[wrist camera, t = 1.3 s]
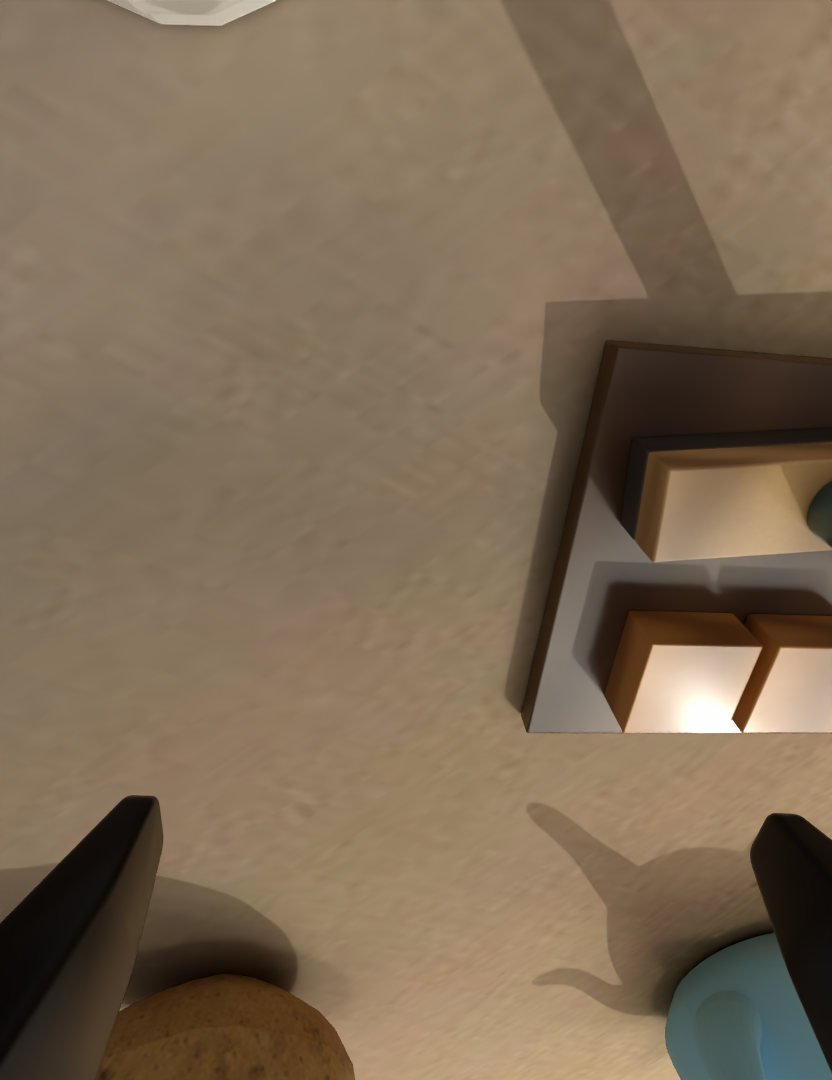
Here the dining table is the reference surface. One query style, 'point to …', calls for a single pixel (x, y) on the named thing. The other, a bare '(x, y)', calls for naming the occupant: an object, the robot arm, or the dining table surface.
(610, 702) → the brown wooden square block
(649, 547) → the brush
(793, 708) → the wooden square block
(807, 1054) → the teapot
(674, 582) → the shelf board
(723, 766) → the dining table surface
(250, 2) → the bottle
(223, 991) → the potato
